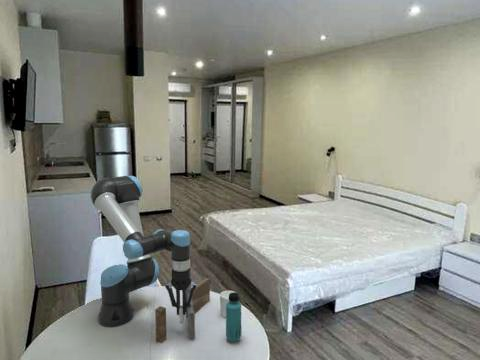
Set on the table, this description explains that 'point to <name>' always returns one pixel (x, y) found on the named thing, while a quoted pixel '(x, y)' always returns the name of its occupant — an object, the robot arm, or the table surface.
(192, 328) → the gate panel
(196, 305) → the gate frame
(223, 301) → the white cup
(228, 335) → the beverage bottle
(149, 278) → the robot arm
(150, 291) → the table surface
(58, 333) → the table surface
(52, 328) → the table surface
